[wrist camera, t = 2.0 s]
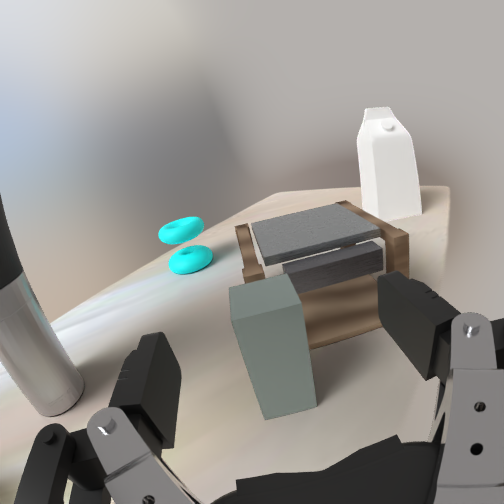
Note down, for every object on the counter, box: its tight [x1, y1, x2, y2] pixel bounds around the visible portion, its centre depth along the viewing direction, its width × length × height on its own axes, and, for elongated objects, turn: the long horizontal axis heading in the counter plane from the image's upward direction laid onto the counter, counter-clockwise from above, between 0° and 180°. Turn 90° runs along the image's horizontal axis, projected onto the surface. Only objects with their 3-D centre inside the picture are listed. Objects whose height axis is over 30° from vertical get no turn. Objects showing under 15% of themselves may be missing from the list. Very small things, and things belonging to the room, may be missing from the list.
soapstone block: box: [229, 273, 317, 420], centre depth 25 cm, size 5×5×12 cm
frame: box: [235, 200, 409, 350], centre depth 39 cm, size 18×18×11 cm
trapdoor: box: [251, 203, 383, 294], centre depth 36 cm, size 17×13×3 cm
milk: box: [357, 107, 422, 222], centre depth 64 cm, size 12×12×26 cm
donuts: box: [159, 217, 213, 274], centre depth 63 cm, size 10×10×10 cm
